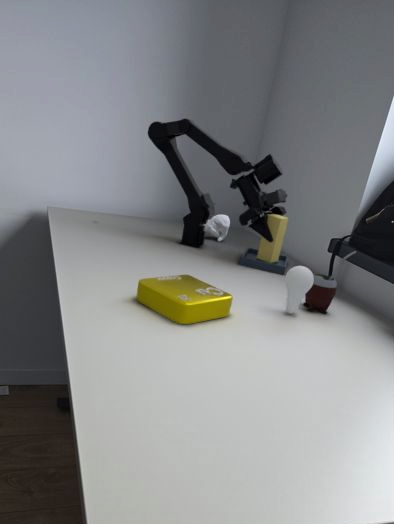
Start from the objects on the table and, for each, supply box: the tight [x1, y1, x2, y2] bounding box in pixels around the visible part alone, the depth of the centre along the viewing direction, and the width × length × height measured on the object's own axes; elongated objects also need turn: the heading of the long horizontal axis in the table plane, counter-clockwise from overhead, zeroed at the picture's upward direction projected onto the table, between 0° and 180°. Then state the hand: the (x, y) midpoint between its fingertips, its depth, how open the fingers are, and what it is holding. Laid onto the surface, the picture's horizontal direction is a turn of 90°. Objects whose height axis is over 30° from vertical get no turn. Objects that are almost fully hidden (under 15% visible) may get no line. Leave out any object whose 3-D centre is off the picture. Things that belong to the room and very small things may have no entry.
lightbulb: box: [284, 265, 314, 315], centre depth 109 cm, size 6×6×11 cm
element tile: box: [135, 274, 233, 325], centre depth 101 cm, size 15×15×5 cm
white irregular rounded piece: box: [204, 214, 231, 242], centre depth 169 cm, size 6×8×12 cm
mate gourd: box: [303, 250, 357, 315], centre depth 114 cm, size 8×8×15 cm
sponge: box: [256, 214, 290, 265], centre depth 145 cm, size 5×5×14 cm
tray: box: [239, 247, 289, 276], centre depth 149 cm, size 13×15×2 cm
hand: (276, 241), depth 144 cm, fingers closed on sponge, 5 cm apart
